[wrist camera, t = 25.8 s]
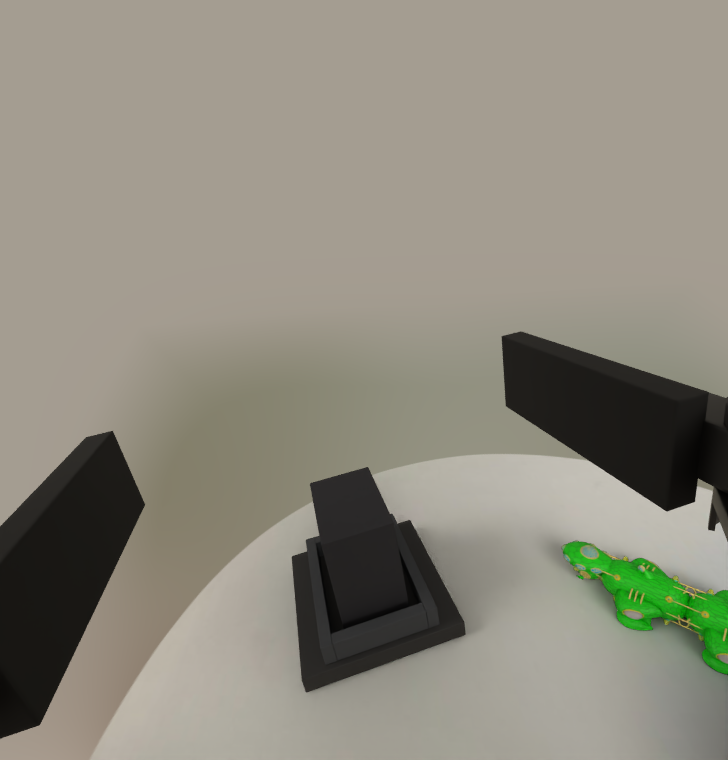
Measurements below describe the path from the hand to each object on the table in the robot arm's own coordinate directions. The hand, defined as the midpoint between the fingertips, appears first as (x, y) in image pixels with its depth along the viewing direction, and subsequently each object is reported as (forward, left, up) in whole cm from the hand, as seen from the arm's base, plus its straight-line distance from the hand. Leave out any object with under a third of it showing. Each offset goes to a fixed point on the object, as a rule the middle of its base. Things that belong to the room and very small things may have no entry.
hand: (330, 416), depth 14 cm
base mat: (-8, +16, -28) cm, 33 cm away
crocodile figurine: (+18, +17, -28) cm, 38 cm away
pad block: (-8, +16, -26) cm, 32 cm away
